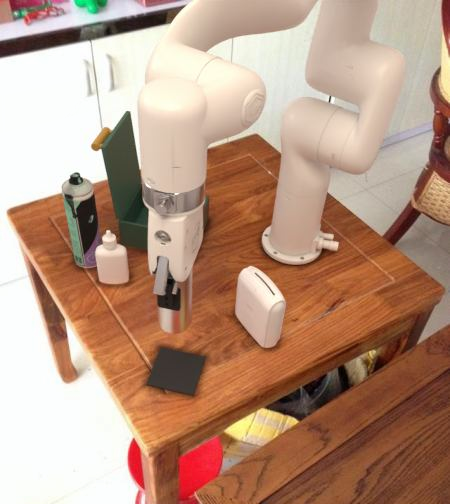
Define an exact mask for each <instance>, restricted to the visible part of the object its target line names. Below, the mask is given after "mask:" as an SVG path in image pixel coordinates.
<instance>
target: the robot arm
mask: <svg viewBox="0 0 450 504" xmlns="http://www.w3.org/2000/svg"><path fill="white" fill-rule="evenodd" d="M317 3H318V0H191V1H190V2H188V3H187V4H186V5H185V6H184V7H183V8H181V10H180V11H179V12H178V13H177V14H176V16H175V17H174V18H173V20H172V21H171V23H170V24H169V25H168V26H167V28H166V29H165V31H164V33H163V35H161V36H160V37H161V38H160V39H159V40H158V42H157V44H156V45H155V46H154V49H153V51H152V53H151V55H150V56H149V59H148V62H147V65H146V69H145V74H144V86H142V88H141V89H140V91H139V93H138V96H137V100H136V103H137V104H136V108H137V124H138V127H137V128H138V141H139V144H138V145H139V157H140V159H139V160H140V175H141V181H142V182H141V184H142V194H143V202H144V204H145V206H146V207H147V208H148V209H149V217H148V250H147V262H148V263H147V264H148V269H149V273H150V275H151V276H152V277H154V276H155V279H154V285H153V292H152V293H153V294H154V295H156V300H157V301H156V304H157V305H158V307H160V308H165V309H170V310H174V311H179V310H180V308H181V289H179V288H178V286H179V282H183V281H185V280H186V279H187V278H188V276H189V274H190V271H191V269H192V266H193V267H194V264H195V261H196V260H197V256H198V254H199V251H200V248H201V246H202V243H203V238H204V232H203V205H204V203H205V198H206V196H207V193H206V192H207V168H208V167H207V165H208V148H209V146H210V145H212V144H215V143H217V142H219V141H223V140H227V139H229V138H231V137H234V136H237V135H240V134H241V133H243V132H245V131H247V130H248V129H250V128H251V127H252V126H253V125H254V124H255V123H256V122H257V121H258V119H259V118H260V117H261V115H262V113H263V110H264V108H265V105H266V101H267V89H266V84H265V83H264V81H263V79H262V77H261V76H260V75H259V74H258V73H256V72H255V71H253V70H252V69H250V68H248V67H246V66H245V65H244V66H243V65H241V64H239V63H236V62H233V61H230V60H228V59H225V58H222V57H220V56H218V55H214V54H212V53H209V52H208V51H209V50H211V49H212V48H214V47H216V46H217V45H218V44H221V43H223V42H226V41H228V40H231V39H235V38H238V37H246V36H251V35H262V34H269V33H270V34H271V33H275V32H276V33H277V32H283V31H287V30H291V29H294V28H297V27H298V26H300V25H302V23H304V22H305V21H306V19H307V18H308V17H309V15H310V13H311V12H312V10H313V8H314V7H315V5H316V4H317ZM378 7H379V0H321V2H320V7H319V10H318V15H317V19H316V23H315V26H314V30H313V34H312V37H311V41H310V45H309V49H308V53H307V58H306V61H305V67H304V79H305V81H306V84H307V85H308V86H309V87H311V88H312V89H313V90H315V91H317V92H319V93H322V94H324V95H327V96H330V97H331V98H335V99H338V100H341V101H344V102H347V103H350V104H352V105H355V106H357V107H358V110H359V113H358V112H355V111H352V110H350V109H347V108H344V107H343V106H341V105H337V104H335V103H331V102H329V101H326V100H323V99H320V98H316V97H310V96H302V97H298V98H295V99H294V100H292V101H291V102H290V103H288V104H287V106H286V108H285V109H284V111H283V114H282V116H281V120H280V126H279V127H280V129H279V132H280V133H279V135H280V164H279V173H278V178H277V185H276V193H275V199H274V205H273V210H272V211H273V212H272V218H271V224H270V225H269V226H268V227H266V228H265V229H264V231H263V232H262V236H261V246H262V249H263V251H264V252H265V253H266V254H267V255H268V256H269V257H270V258H272V259H273V260H275V261H277V262H280V263H282V264H286V265H292V266H294V265H295V266H297V265H299V266H300V265H305V264H308V263H311V262H313V261H315V260H316V259H317V258H318V257H319V256H320V255H321V253H322V250H323V249H325V250H328V251H332V252H338V249H339V244H340V242H339V241H336V240H334V237H335V234H333V233H326V232H323V230H321V227H322V224H321V221H322V217H323V212H324V208H325V205H326V200H327V197H328V191H329V186H330V183H331V168H334V169H335V170H339V171H341V172H344V173H347V174H350V175H353V176H354V175H355V176H360V175H363V174H365V173H367V172H368V171H369V170H370V169H371V168H372V166H373V165H374V164H375V162H376V160H377V157H378V155H379V153H380V150H381V147H382V145H383V142H384V139H385V137H386V134H387V131H388V128H389V126H390V122H391V120H392V118H393V115H394V112H395V108H396V105H397V103H398V101H399V98H400V95H401V92H402V89H403V85H404V82H405V78H406V73H407V72H406V71H407V63H406V59H405V56H404V55H403V53H402V52H401V51H399V49H396V48H395V47H392V46H390V45H387V44H384V43H380V42H377V41H374V40H371V37H370V36H371V35H370V34H371V30H372V27H373V24H374V21H375V17H376V14H377V10H378ZM330 167H331V168H330ZM167 277H171V278H173V284H168V283H167ZM157 305H156V306H157Z"/></svg>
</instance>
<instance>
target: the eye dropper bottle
mask: <svg viewBox="0 0 450 504" xmlns="http://www.w3.org/2000/svg"><path fill="white" fill-rule="evenodd" d="M101 242H102V243H101V244H102V245H100V246H98V247H97V248H96V252H95V256H96V263H97V266H96V270H97V275H98V281H99V282H100V283H102V284H107V285H122V284H125V283H128V282H129V281H130V269H129V260H128V252H127V251H128V250H127V248H126V246H125V245H121V243H117V242H118V241H117V236H116V235H115V234H114V233H112V231H111V230H110V229H107V230H106V232H105V234H103V235H102V237H101Z"/></svg>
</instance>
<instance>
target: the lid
mask: <svg viewBox="0 0 450 504" xmlns="http://www.w3.org/2000/svg"><path fill="white" fill-rule="evenodd" d="M90 148H91V150H93V151H94V152H99V151H100V150H101V154H102V159H103V163H104V164H103V165H104V168H105V173H106V177H107V182H108V187H109V192H110V196H111V201H112V206H113V210H114V215H115V218H116V220H117V221H119V220H120V219H121V217H122V215H123V213H124V212H125V210H126V208H127V206H128V205H129V203H130V201H131V199H132V198H133V196H134V194H135V192H136V191H137V189H138V187H139V185H140V184H142V178H141V167H140V163H139V162H140V161H139V157H138V152H137V151H138V150H137V145H136V138H135V132H134V125H133V119H132V113H131V111H130V110H126V111H125V112H124V114H123V115H122V116H121V118H120V119H119V120H118V122H117V124H115V126H114V128H113V129H111V128H109V127H108V126H104V127H103V128H102V130H101V131H100V132H99V134H97V135H96V137H95V138H94V141H93V142H92V143H91V145H90Z"/></svg>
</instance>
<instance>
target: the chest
mask: <svg viewBox="0 0 450 504" xmlns="http://www.w3.org/2000/svg"><path fill="white" fill-rule="evenodd" d="M209 215H210V196H208V195H206V198H205V203H204V205H203V233H204V231H205V229H206V226H207V224H208V223H209ZM148 217H149V209H148V208H147V207H146V206H145V204H144V202H143V194H142V183H141V184H140V185H139V187H138V189H137V191H136V192H135V194H134V196H133V198H132V199H131V201H130V203H129V205H128V206H127V208H126V210H125V212H124V213H123V215H122V217H121V219H120V220H117V221H118V230H119V241H120V245H122V246H124V247H131V248H135V249H140V250H145V251H148Z"/></svg>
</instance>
